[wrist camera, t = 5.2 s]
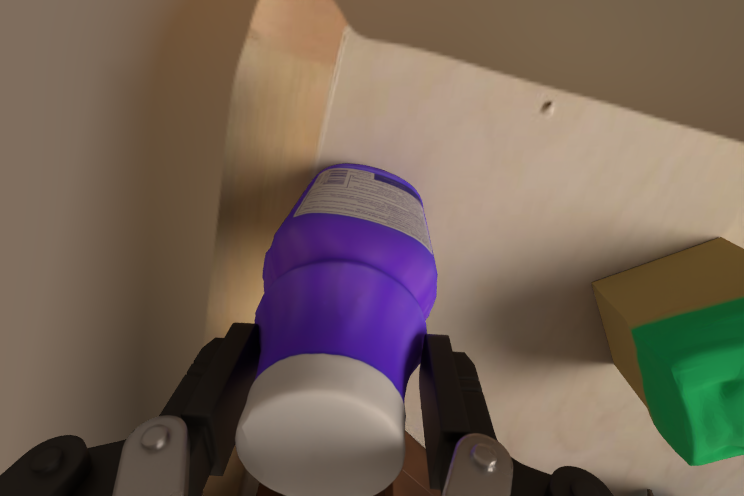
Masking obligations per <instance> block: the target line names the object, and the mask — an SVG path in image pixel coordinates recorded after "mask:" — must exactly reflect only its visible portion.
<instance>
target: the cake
mask: <svg viewBox="0 0 744 496" xmlns="http://www.w3.org/2000/svg"><path fill="white" fill-rule="evenodd" d="M592 287H593V290H594V294H595V298H596V301H597V305H598V308H599V312H600V315H601V319H602V323H603V326H604V330H605V333H606V337H607V340H608V344H609V348H610V351H611V355H612V358H613V362H614V365H615V366H616V367H617V369H618V370H619V371H620V373H621V374H622V375H623V377H624V378H625V379H626V381H627V382H628V383H629V385H630V386H631V387H632V389H633V390H634V391H635V393H636V394H637V395H638V397H639V398H640V399H641V401H642V402H643V403H644V405H645V406H646V407H647V409H648V411H649V414H650V417H651V419H652V421H653V423H654V425H655V427H656V428H657V430H658V431H659V433H660V434H661V435H662V437H663V438H664V439H665V440H666V441H667V443H668V444H669V445H670V446H671V447H672V448H673V449H674V450H675V452H677V453H678V454H679V455H680V456H681V457H682V458H683V459H684V460H685V461H686V462H687V463H688V464H689V465H690V466H699V465H704V464H708V463H712V462H715V461H719V460H723V459H727V458H731V457H735V456H740V455H744V249H743V248H741V247H739V246H737V245H735V244H733V243H731V242H730V241H728V240H726V239H724V238H722V237H720V238H717V239H714V240H711V241H708V242H706V243H703V244H700V245H697V246H694V247H691V248H689V249H686V250H683V251H680V252H677V253H674V254H672V255H669V256H666V257H663V258H660V259H657V260H655V261H652V262H649V263H646V264H643V265H640V266H638V267H635V268H632V269H629V270H626V271H623V272H621V273H618V274H615V275H612V276H609V277H607V278H604V279H601V280H598V281H595V282H592Z"/></svg>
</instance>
